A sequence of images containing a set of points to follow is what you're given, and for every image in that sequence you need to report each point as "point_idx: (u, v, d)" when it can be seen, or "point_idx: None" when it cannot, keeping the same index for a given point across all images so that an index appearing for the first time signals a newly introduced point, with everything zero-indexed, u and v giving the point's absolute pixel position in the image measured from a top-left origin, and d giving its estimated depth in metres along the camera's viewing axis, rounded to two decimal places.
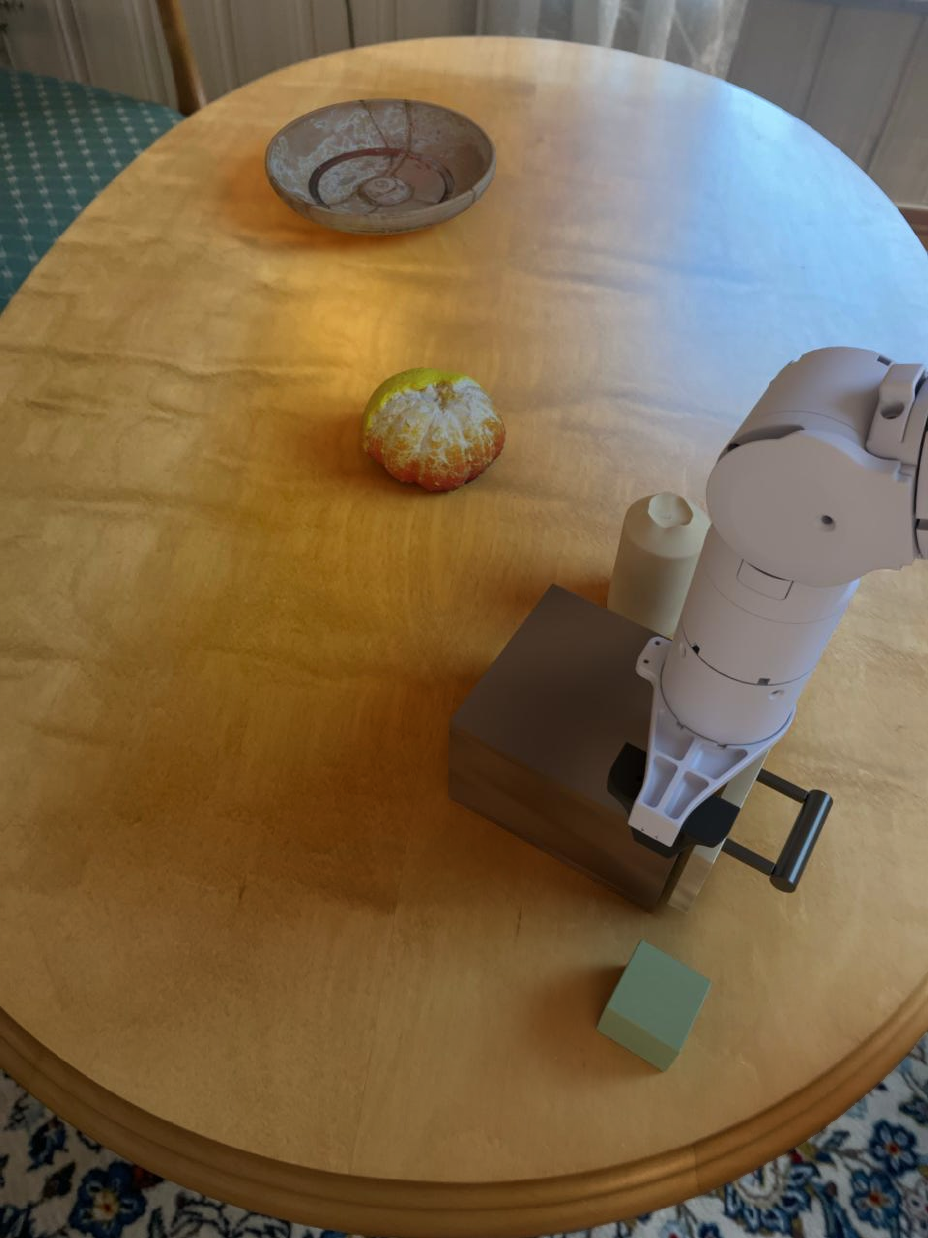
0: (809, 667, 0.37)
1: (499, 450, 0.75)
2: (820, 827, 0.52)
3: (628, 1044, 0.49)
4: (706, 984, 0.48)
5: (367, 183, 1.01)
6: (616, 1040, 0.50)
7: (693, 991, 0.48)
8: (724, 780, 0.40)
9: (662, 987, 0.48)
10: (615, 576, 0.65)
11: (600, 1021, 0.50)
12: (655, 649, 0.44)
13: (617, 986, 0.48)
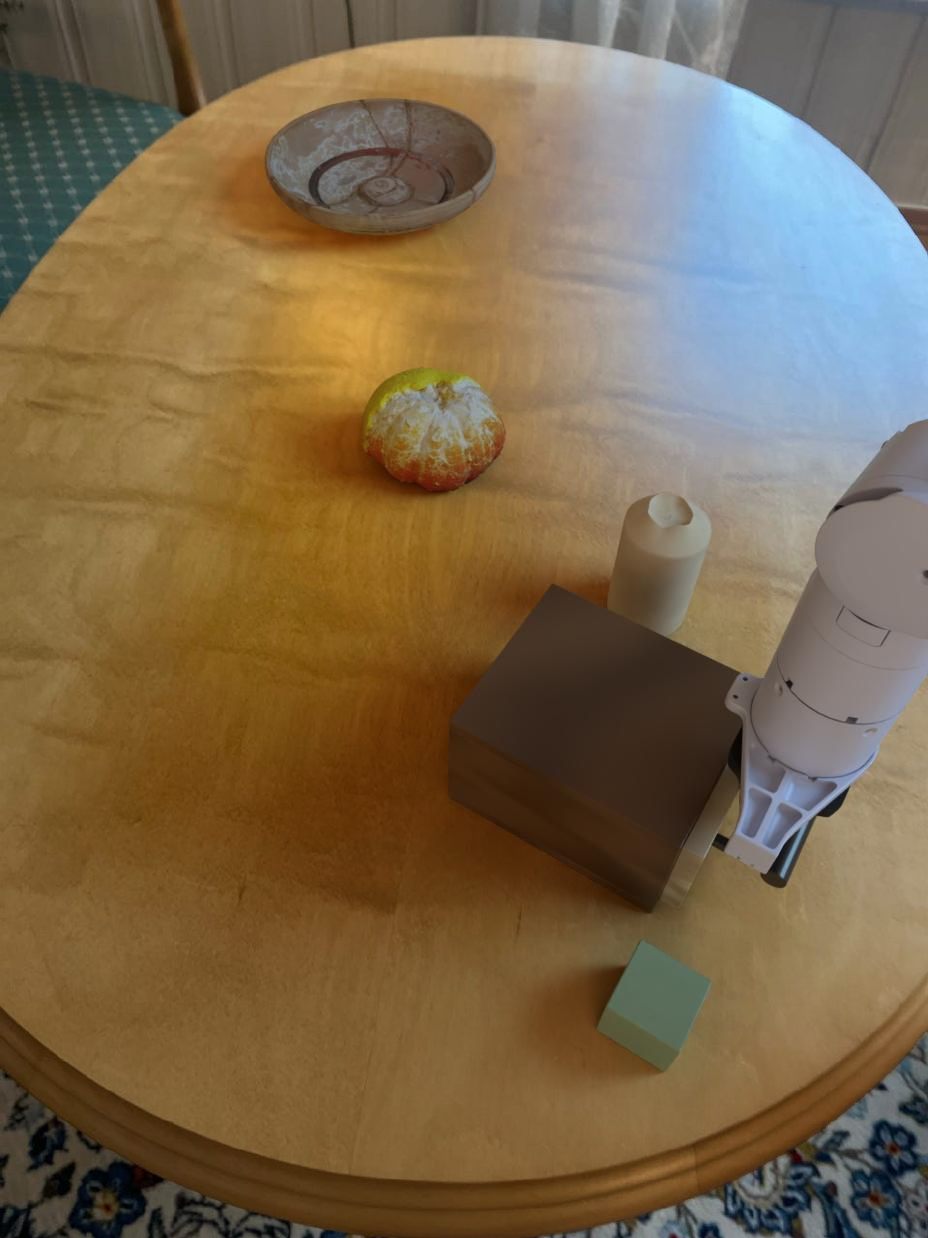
0: (896, 711, 0.40)
1: (499, 450, 0.75)
2: (811, 822, 0.52)
3: (628, 1044, 0.49)
4: (706, 984, 0.48)
5: (367, 183, 1.01)
6: (616, 1040, 0.50)
7: (693, 991, 0.48)
8: (816, 811, 0.42)
9: (662, 987, 0.48)
10: (615, 576, 0.65)
11: (600, 1021, 0.50)
12: (743, 685, 0.46)
13: (617, 986, 0.48)
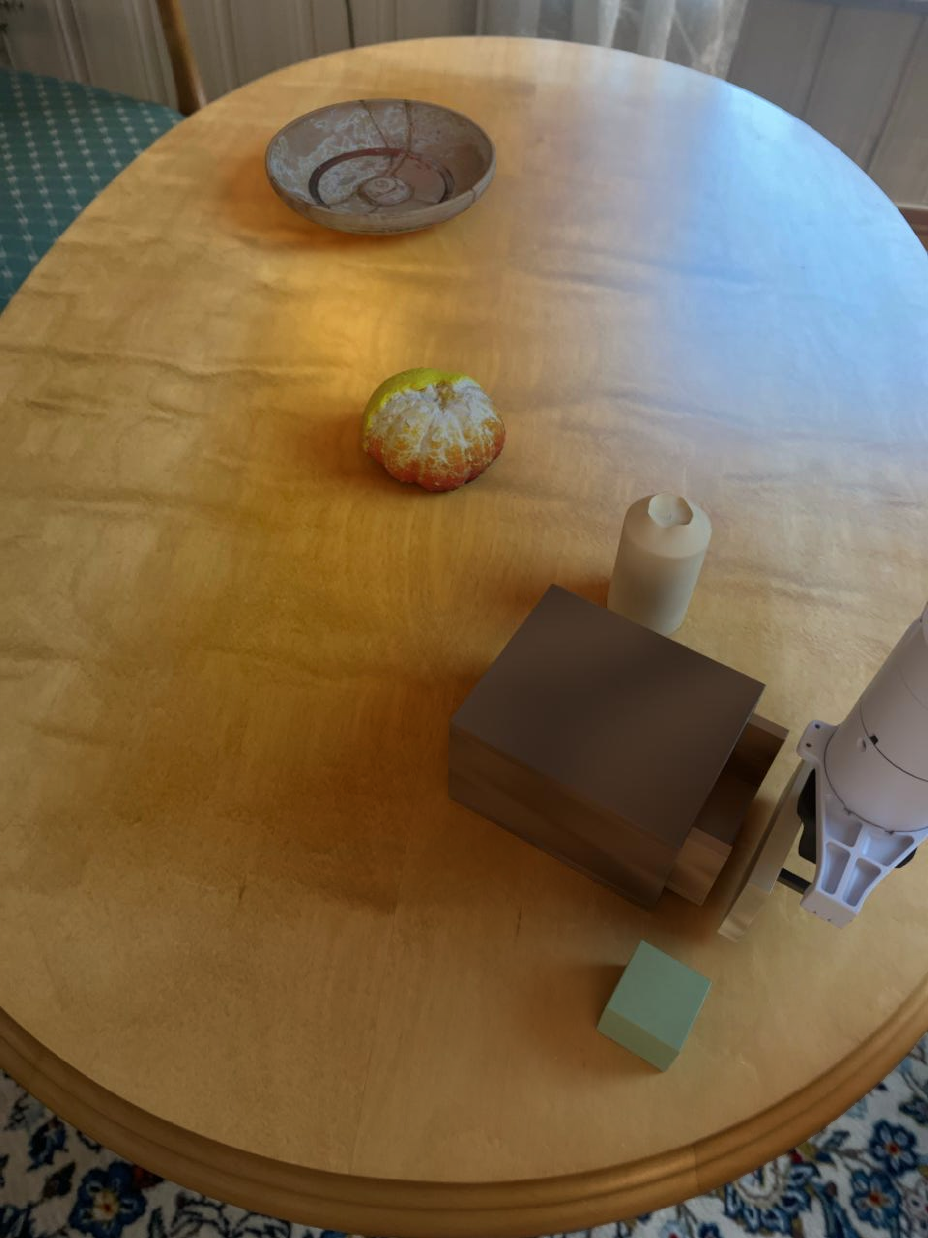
0: None
1: (499, 450, 0.75)
2: None
3: (628, 1044, 0.49)
4: (706, 984, 0.48)
5: (367, 183, 1.01)
6: (616, 1040, 0.50)
7: (693, 991, 0.48)
8: (894, 867, 0.42)
9: (662, 987, 0.48)
10: (615, 576, 0.65)
11: (600, 1021, 0.50)
12: (816, 733, 0.46)
13: (617, 986, 0.48)
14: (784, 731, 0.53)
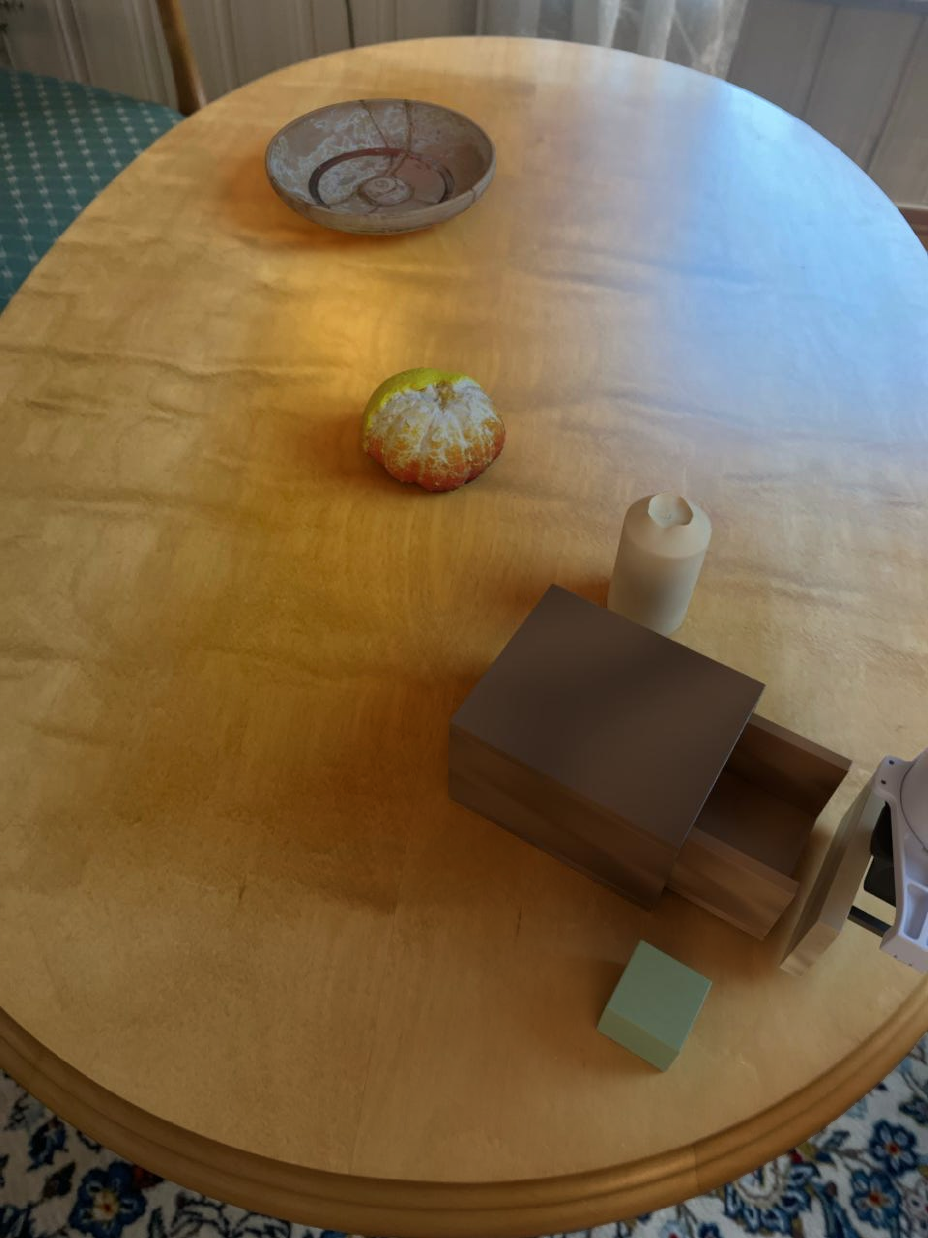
0: None
1: (499, 450, 0.75)
2: None
3: (628, 1044, 0.49)
4: (706, 984, 0.48)
5: (367, 183, 1.01)
6: (616, 1040, 0.50)
7: (693, 991, 0.48)
8: None
9: (662, 987, 0.48)
10: (615, 576, 0.65)
11: (600, 1021, 0.50)
12: (890, 769, 0.45)
13: (617, 986, 0.48)
14: (847, 762, 0.52)
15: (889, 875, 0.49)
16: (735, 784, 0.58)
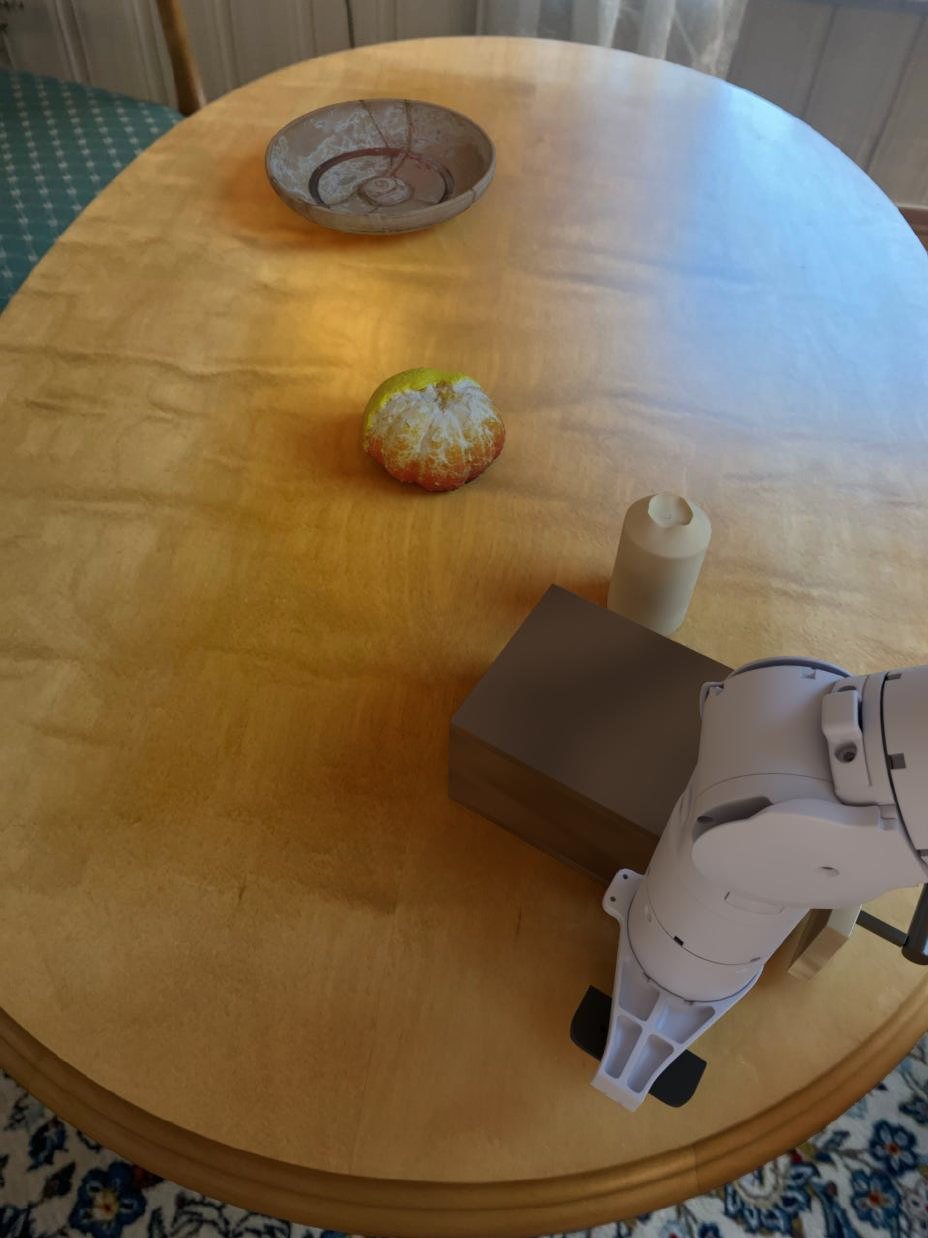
0: None
1: (499, 450, 0.75)
2: None
3: None
4: None
5: (367, 183, 1.01)
6: None
7: None
8: (690, 1044, 0.39)
9: None
10: (615, 576, 0.65)
11: None
12: (622, 884, 0.42)
13: None
14: None
15: None
16: None
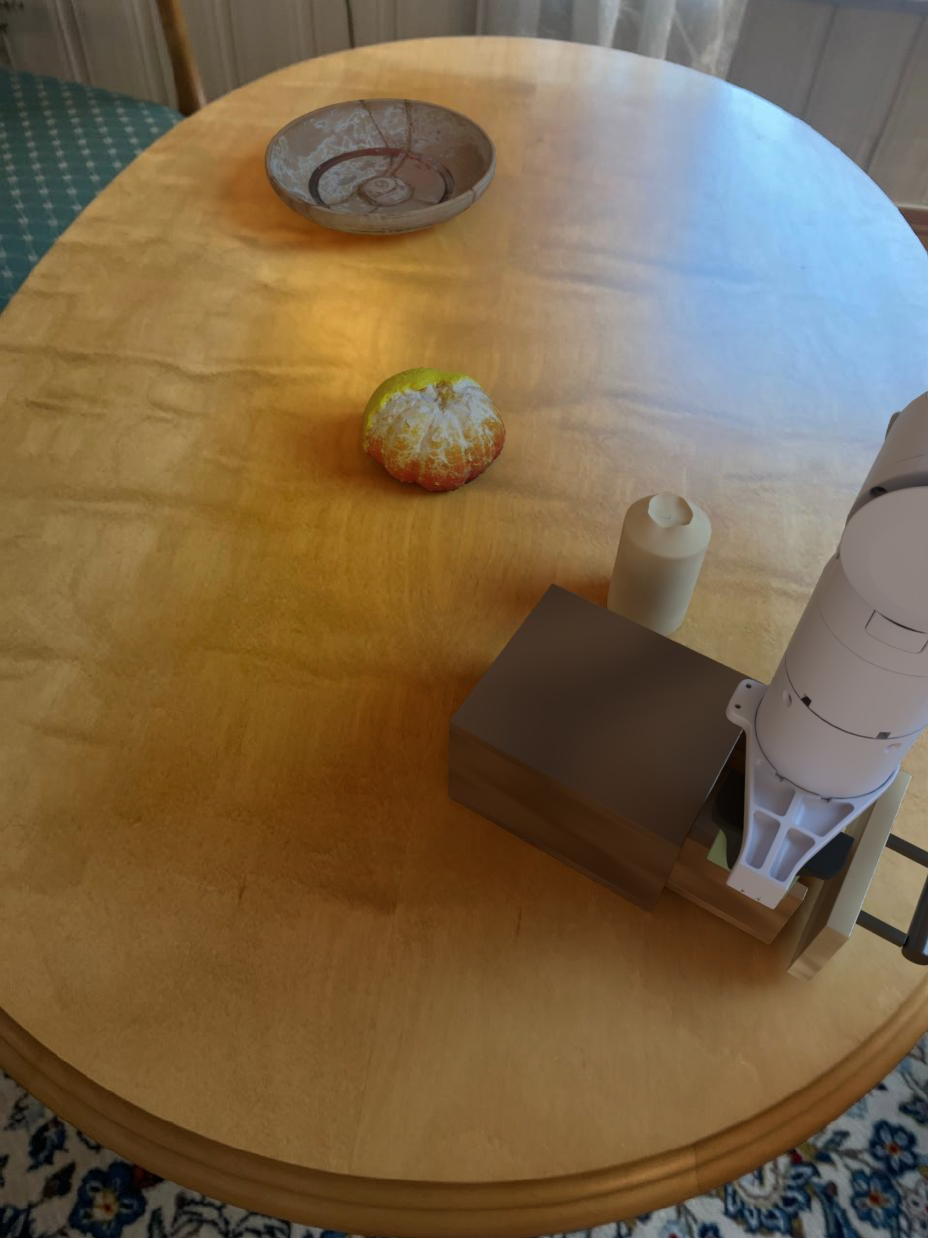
0: None
1: (499, 450, 0.75)
2: None
3: None
4: None
5: (367, 183, 1.01)
6: None
7: None
8: (831, 837, 0.37)
9: None
10: (615, 576, 0.65)
11: (713, 845, 0.47)
12: (746, 693, 0.41)
13: None
14: None
15: None
16: None
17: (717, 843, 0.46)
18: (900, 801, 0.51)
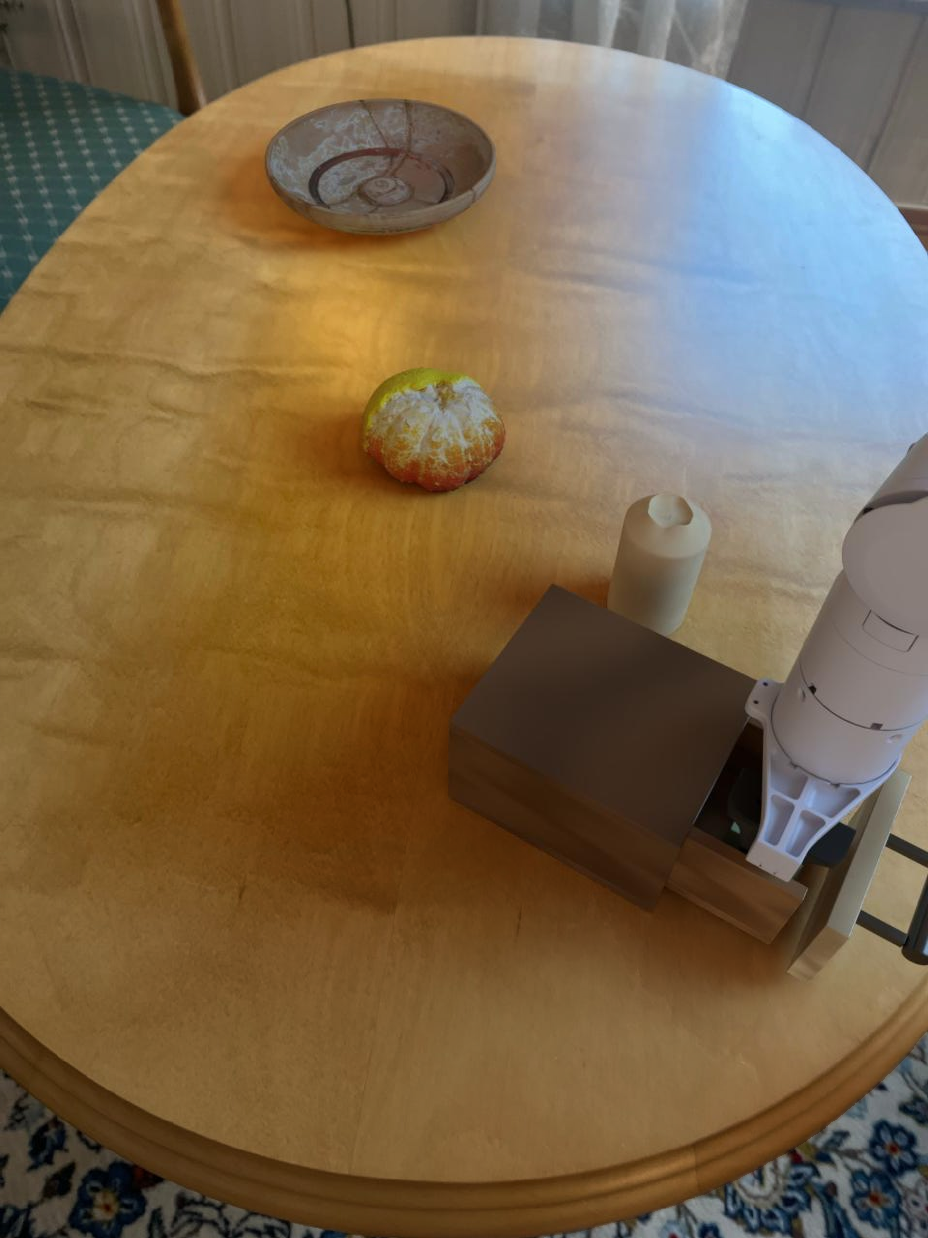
0: (922, 717, 0.39)
1: (499, 450, 0.75)
2: None
3: None
4: None
5: (367, 183, 1.01)
6: None
7: None
8: (839, 819, 0.42)
9: None
10: (615, 576, 0.65)
11: None
12: (764, 690, 0.46)
13: None
14: None
15: None
16: None
17: None
18: (900, 801, 0.51)
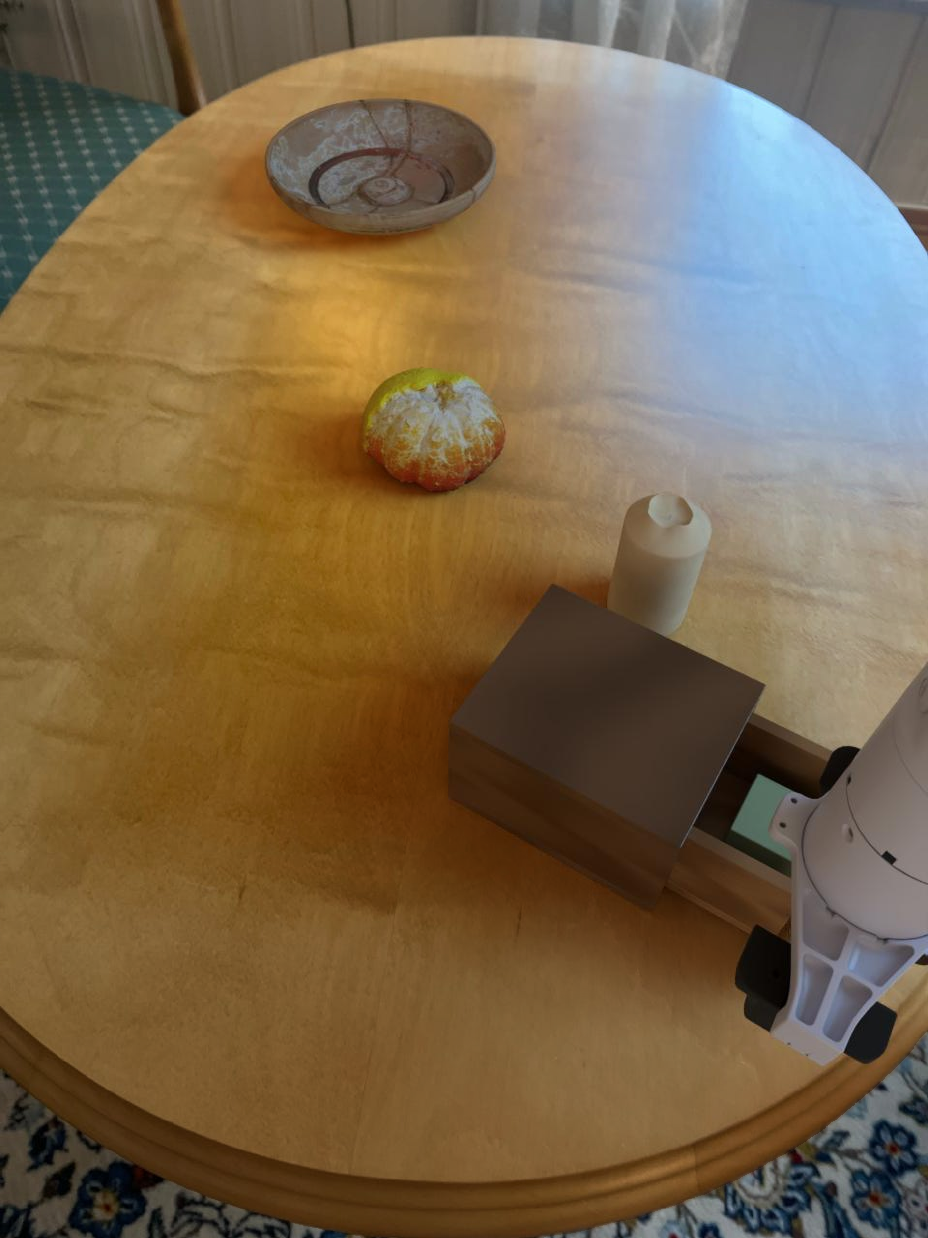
0: None
1: (499, 450, 0.75)
2: None
3: None
4: None
5: (367, 183, 1.01)
6: None
7: None
8: (889, 987, 0.33)
9: None
10: (615, 576, 0.65)
11: None
12: (792, 809, 0.37)
13: (739, 812, 0.52)
14: None
15: None
16: (742, 787, 0.57)
17: None
18: None
